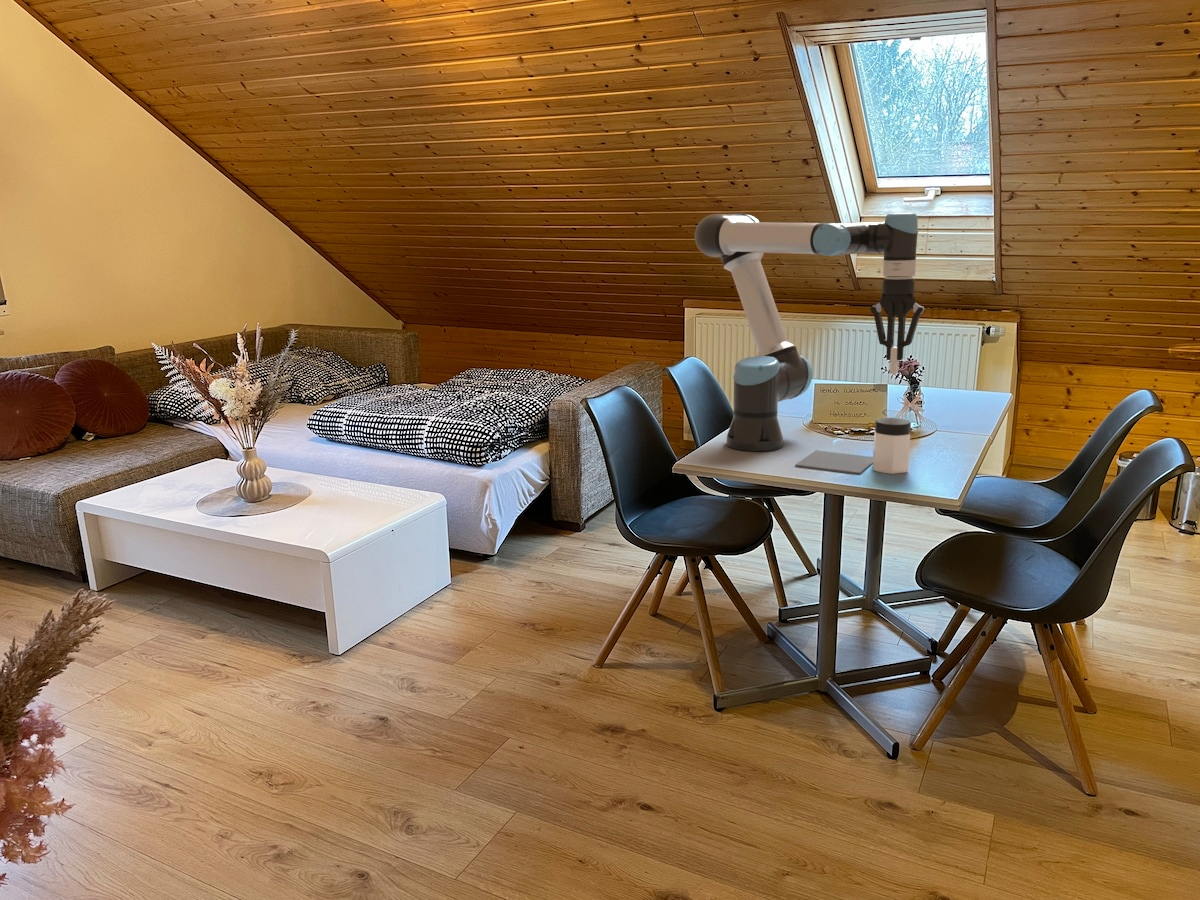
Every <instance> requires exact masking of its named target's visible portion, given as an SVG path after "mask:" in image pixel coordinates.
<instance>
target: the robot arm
mask: <svg viewBox="0 0 1200 900" xmlns="http://www.w3.org/2000/svg"><path fill="white" fill-rule="evenodd" d="M918 221H919V220H918V215H917V214H916V213H914V212H903V213H900V212H899V213H887V214H886V215H885V220H884V221H881V222H874V221H873V222H858V221H857V222H845V223H844V222H774V221H773V222H772V221H771V222H767V221H766V222H763V221H762V222H760V221H759V219H758V218H756V217H755V216H753V215H750V214H745V213H742V212H735V213H713V214H710V215H707V216H705V217H704V218H703V219H701V220H700V222H698V224H697V226H696V229H695V230H694V240H695V244H696V247H697V249H698V250H699V251H700V252H701V253H702V254H704V255H705V256H707V257H709V258H710V257H711V258H720V261H721V263H722V266H723V269H724V270H727V271H729V272H730V273H731V275H732V279H733V282H734V285H735V287H736V291H737V293H738V296H739V300H740V302H741V305H742V308H743V311H744V314H745V317H746V319H747V320H746V321H747V322H748V325H749V328H750V331H751V335H752V337H753V340H754V342H755V346H756V349H757V351H758V352H757V355H756V356H750V357H745V358H743V359H742V358H741V359H740V360H739V361H738V362H737V363H736V364H735V366H734V373H733V417H732V420H731V423H730V425H729V429H728V431H727V434H726V446H727V447H729V448H731V449H734V450H740V451H746V452H747V451H748V452H767V451H775V450H779V449H781V448H782V447H783V446H784V435H783V432H782V429H781V426H780V421H779V420H778V409H779V408H778V407H779V406H778V405H779V402H783V401H786V400H792V399H795V398H797V397H799V396H801V395H803V394H804V393H805V392H806V391H808V389H809V387H810V385H811V383H812V380H813V369H812V366H811V363H810V362H809V360H808V359H807V358H806V357H804V356H802V355H800V353H799V351H798V349H797V346H796V344H794V343H792V342H790V341H789V340H788V337H787V335H786V332H785V329H784V326H783V323H782V320H781V319H782V318H781V317H780V313H779V310H778V308H777V305H776V302H775V300H774V297H773V294H772V290H771V287H770V286H769V285H770V284H769V282H768V279H767V276H766V273H765V270H764V267H763V265H762V262H761V261H762V258H763V257H764V253H770V254H795V255H796V254H799V255H819V256H820V255H822V256H826V257H836V256H837V257H838V256H841V255H842V256H843V255H858V254H883V266H882V267H883V268H882V269H883V270H882V276H883V277H885V278H884V279H883V280H882V289H881V297H880V299H879V302H877V303H876V304H875V305H872V306H871V307H870V309H869V310H870V312H871V313H872V315H873V318H874V323H875V329H876V333H877V337H878V342H879V343H878V344H879V345H882V346H885V347H886V352H885V353H886V356H885V357H886V360H887V361H890V364H889V375H897V374H898V373H899V363H900V361H902V360H903V359H904V348H905V347H906V346H907V347H908V346H910V345H911V344H912V342H913V339H914V336H915V334H916V329H917V326H918V324H919V321H920V320H919V319H920V317H921V315H922V314H923V312H924V311H925V306H924V305H923V306H921V305H919V303H917V302H916V301H917V300H916V297H915V285H916V284H915V281H916V280H915V279H914V278H913V277H915V276H916V266H917V248H918V247H917V245H918V234H919V229H918V228H919V227H918V223H919V222H918ZM882 309H883V311H884V312H885V313H886V314H887V315H886V316H887V324H886V325H887V329H886V332H885V327H884V321H883V317H882V313H881V312H882ZM912 309H913V310H912ZM911 310H912V312H913V315H912V318H911V321H910V324H909V328H908V331H907V335H906V334H905V332H906V319H907V315H908V314H909V312H910V311H911ZM896 316H897V321H898V322H897V338H896V341H897V343H896V346H894V345H895V343H894V342H895V341H894V339H895V325H896V324H895V323H896V322H895V321H896ZM905 335H906V336H905ZM905 337H906V338H905Z"/></svg>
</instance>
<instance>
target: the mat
mask: <svg viewBox="0 0 1200 900" xmlns="http://www.w3.org/2000/svg"><path fill="white" fill-rule="evenodd" d="M794 466H795V467H796V468H805V469H811V470H821V471H828V472H834V473H835V472H836V473H843V474H851V475H858V476H859V475H861V474H863V473H864V472H865V471H866V470H867V469H868V468H869V467H870V466H873V456H868V455H860V454H852V453H851V454H849V453H842V452H841V453H840V452H833V451H825V450H819V449H817V450H814V451H813V452H811V453H810V454H808V455H807V456H806V457H804V458H803V459H801V460H800V461H798V462H797V463H796V464H795V465H794Z"/></svg>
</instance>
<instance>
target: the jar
mask: <svg viewBox="0 0 1200 900" xmlns="http://www.w3.org/2000/svg"><path fill="white" fill-rule="evenodd" d="M874 422H875V423H874V424H875V425H874V437H873V448H872V449H873V452H872V453H873V454H872V457H873V464H872V469H873V471H874V472H878V473H883V474H888V475H894V474H895V475H896V474H897V475H898V474H903V473H904V474H905V473H908V472H909V460H910V459H909V458H910V448H911V447H910V446H911V424H912V422H911V421H910V420H908V419H905V418H897V417H881V418H876V419H875V421H874Z"/></svg>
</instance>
